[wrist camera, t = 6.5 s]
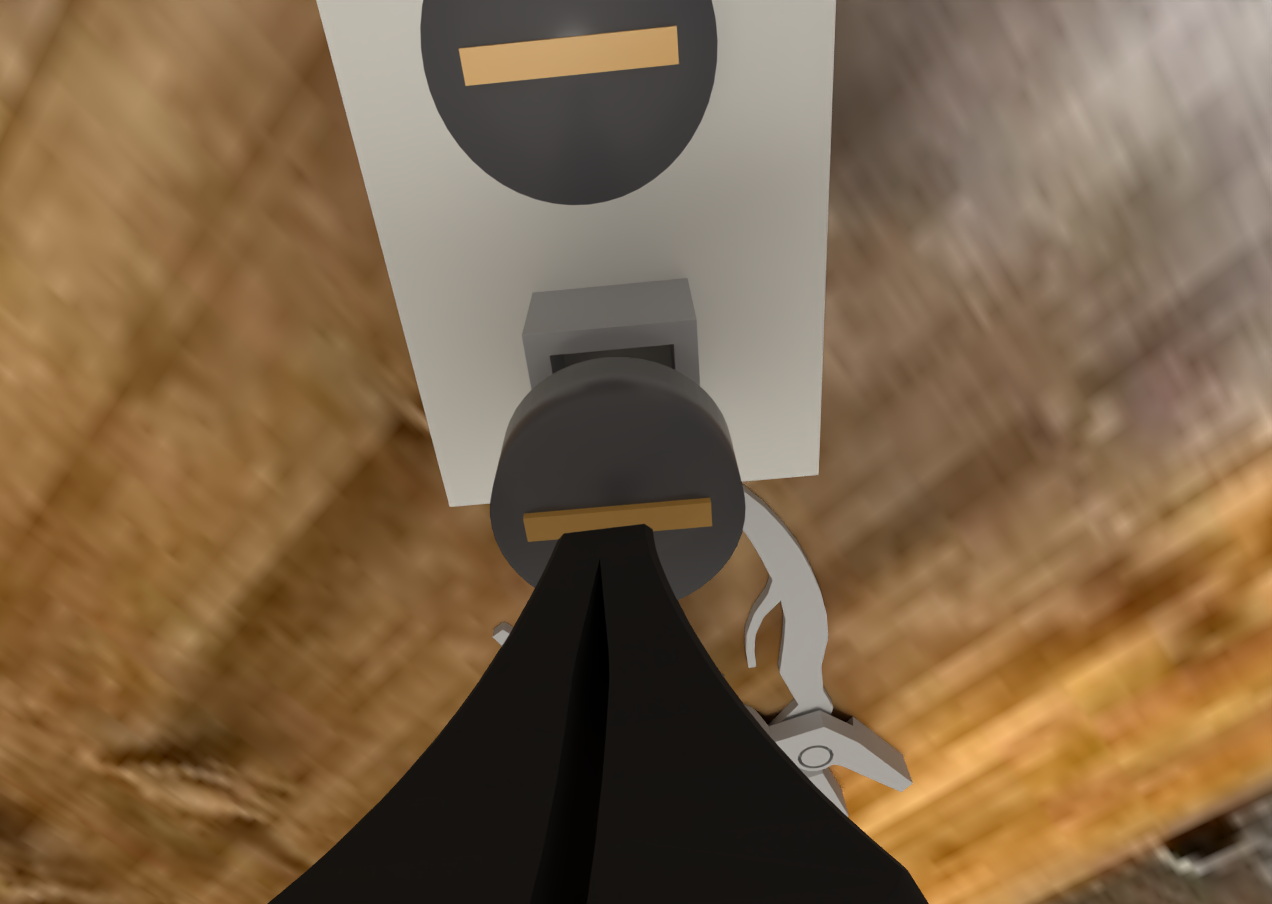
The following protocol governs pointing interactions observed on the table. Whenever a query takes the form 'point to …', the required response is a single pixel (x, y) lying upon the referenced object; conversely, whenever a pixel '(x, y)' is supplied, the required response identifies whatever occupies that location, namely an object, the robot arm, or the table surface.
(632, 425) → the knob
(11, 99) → the table surface
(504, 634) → the pliers
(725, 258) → the knob mount
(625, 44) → the knob middle
